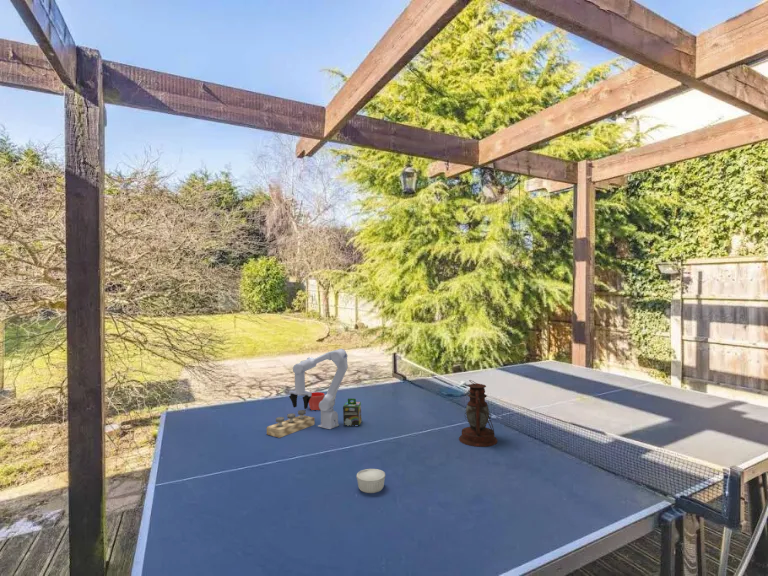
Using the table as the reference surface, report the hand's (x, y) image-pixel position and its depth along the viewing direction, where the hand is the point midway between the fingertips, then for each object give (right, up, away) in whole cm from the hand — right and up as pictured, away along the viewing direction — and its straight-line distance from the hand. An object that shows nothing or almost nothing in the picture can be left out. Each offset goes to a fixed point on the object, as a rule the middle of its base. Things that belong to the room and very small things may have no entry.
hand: (300, 407), depth 245 cm
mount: (-3, -9, -9) cm, 13 cm away
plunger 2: (-3, -7, -9) cm, 12 cm away
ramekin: (+43, -9, -81) cm, 92 cm away
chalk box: (+30, -9, -1) cm, 31 cm away
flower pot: (+4, -10, +31) cm, 33 cm away
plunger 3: (+1, -7, -2) cm, 7 cm away
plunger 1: (-8, -7, -15) cm, 19 cm away
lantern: (+95, -8, -31) cm, 100 cm away
